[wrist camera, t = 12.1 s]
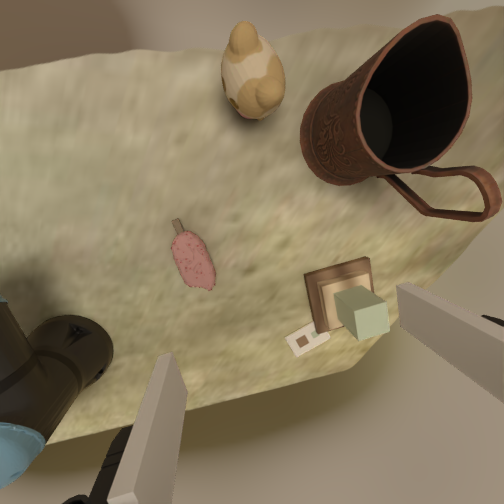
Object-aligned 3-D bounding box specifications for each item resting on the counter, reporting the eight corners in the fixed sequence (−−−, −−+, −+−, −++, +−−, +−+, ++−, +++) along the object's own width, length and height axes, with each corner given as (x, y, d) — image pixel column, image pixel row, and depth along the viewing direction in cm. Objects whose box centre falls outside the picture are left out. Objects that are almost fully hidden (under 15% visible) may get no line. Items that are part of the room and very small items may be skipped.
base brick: (315, 330, 57) (322, 341, 53) (303, 274, 54) (310, 280, 50) (373, 313, 58) (384, 322, 54) (365, 256, 54) (376, 261, 51)
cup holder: (377, 63, 46) (554, -79, 22) (409, 188, 52) (573, 186, 28) (284, 105, 45) (360, 8, 21) (328, 226, 52) (424, 257, 28)
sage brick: (337, 319, 53) (358, 341, 45) (333, 293, 51) (354, 311, 43) (364, 310, 53) (390, 331, 45) (361, 285, 51) (386, 301, 44)
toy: (209, 87, 43) (205, 36, 29) (252, 61, 43) (269, -5, 29) (239, 142, 46) (250, 119, 31) (280, 117, 46) (308, 83, 31)
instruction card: (296, 356, 58) (296, 357, 58) (284, 337, 56) (284, 338, 56) (330, 337, 58) (331, 338, 58) (319, 317, 56) (320, 317, 56)
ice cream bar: (190, 213, 44) (221, 288, 48) (192, 212, 48) (221, 280, 52) (156, 226, 44) (190, 300, 47) (160, 224, 48) (192, 292, 51)
